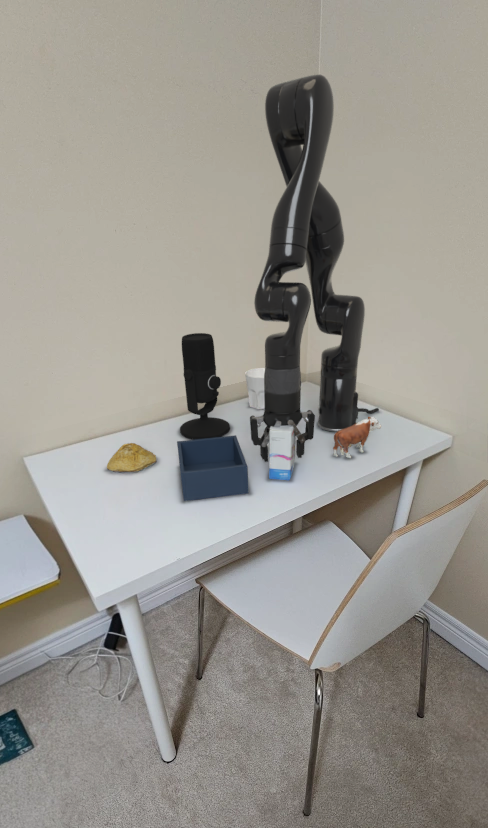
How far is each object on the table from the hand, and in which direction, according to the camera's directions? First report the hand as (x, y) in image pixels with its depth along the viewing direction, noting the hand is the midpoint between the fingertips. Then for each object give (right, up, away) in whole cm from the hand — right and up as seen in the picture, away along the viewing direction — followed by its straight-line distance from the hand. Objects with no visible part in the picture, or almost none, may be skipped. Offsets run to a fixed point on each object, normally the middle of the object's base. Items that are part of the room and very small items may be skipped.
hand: (282, 458), depth 106 cm
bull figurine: (+18, +2, +9) cm, 20 cm away
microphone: (-19, +9, +24) cm, 32 cm away
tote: (-16, -5, 0) cm, 16 cm away
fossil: (-35, -1, +8) cm, 36 cm away
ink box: (0, -3, +2) cm, 4 cm away
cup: (-3, +18, +39) cm, 43 cm away
